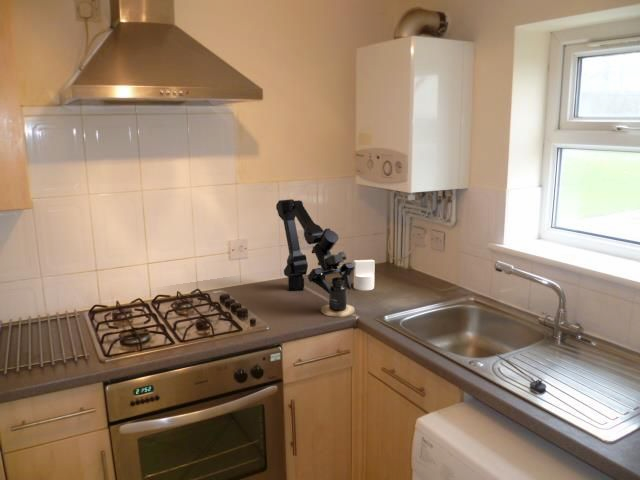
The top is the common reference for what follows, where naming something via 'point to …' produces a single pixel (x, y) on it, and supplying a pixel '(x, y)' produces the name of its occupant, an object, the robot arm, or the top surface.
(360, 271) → the cylinder with rectangular tab
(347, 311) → the beige round plate
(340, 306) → the supplement bottle
